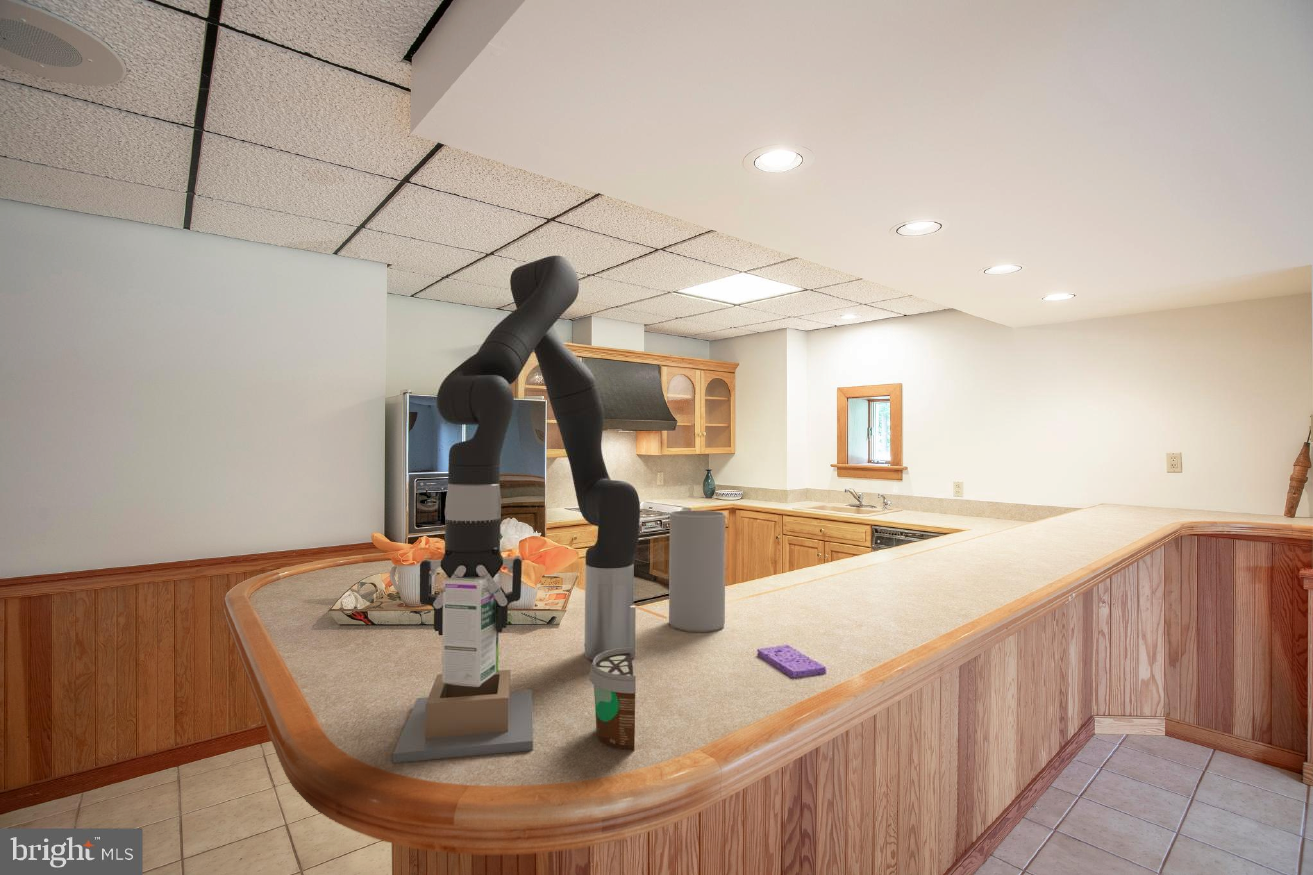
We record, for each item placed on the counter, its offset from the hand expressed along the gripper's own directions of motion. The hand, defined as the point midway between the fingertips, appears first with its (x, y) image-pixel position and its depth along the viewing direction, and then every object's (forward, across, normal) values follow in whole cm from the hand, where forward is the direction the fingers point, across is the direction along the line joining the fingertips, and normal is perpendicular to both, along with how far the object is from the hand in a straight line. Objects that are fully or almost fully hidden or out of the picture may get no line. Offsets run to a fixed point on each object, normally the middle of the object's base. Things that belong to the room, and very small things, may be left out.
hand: (471, 632), depth 85 cm
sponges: (+14, -55, -15) cm, 59 cm away
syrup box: (+7, 0, 0) cm, 7 cm away
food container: (+13, -19, +6) cm, 24 cm away
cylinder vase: (+13, -45, -42) cm, 63 cm away
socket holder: (+13, 0, 0) cm, 13 cm away
